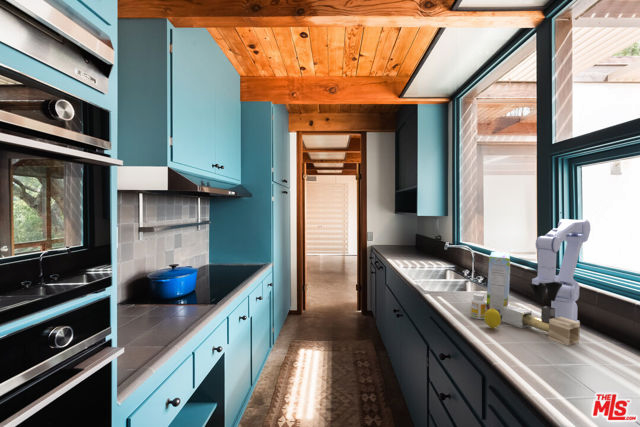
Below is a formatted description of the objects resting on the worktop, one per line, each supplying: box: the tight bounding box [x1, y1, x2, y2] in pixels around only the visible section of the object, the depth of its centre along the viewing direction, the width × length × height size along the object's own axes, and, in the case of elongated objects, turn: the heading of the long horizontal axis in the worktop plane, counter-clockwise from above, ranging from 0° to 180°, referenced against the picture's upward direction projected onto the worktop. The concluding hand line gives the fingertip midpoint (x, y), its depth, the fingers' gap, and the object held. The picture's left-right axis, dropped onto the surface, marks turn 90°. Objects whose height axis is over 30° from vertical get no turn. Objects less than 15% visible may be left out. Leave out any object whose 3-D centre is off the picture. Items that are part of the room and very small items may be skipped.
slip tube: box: [523, 305, 555, 333], centre depth 117 cm, size 4×16×9 cm, turn 25°
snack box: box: [485, 251, 511, 317], centre depth 143 cm, size 22×9×26 cm, turn 148°
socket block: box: [548, 317, 581, 346], centre depth 110 cm, size 7×6×7 cm
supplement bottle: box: [470, 293, 487, 320], centre depth 132 cm, size 5×5×10 cm
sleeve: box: [501, 305, 533, 329], centre depth 126 cm, size 6×8×6 cm
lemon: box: [483, 308, 502, 329], centre depth 120 cm, size 6×6×8 cm
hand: (545, 301), depth 122 cm, fingers open, 7 cm apart
